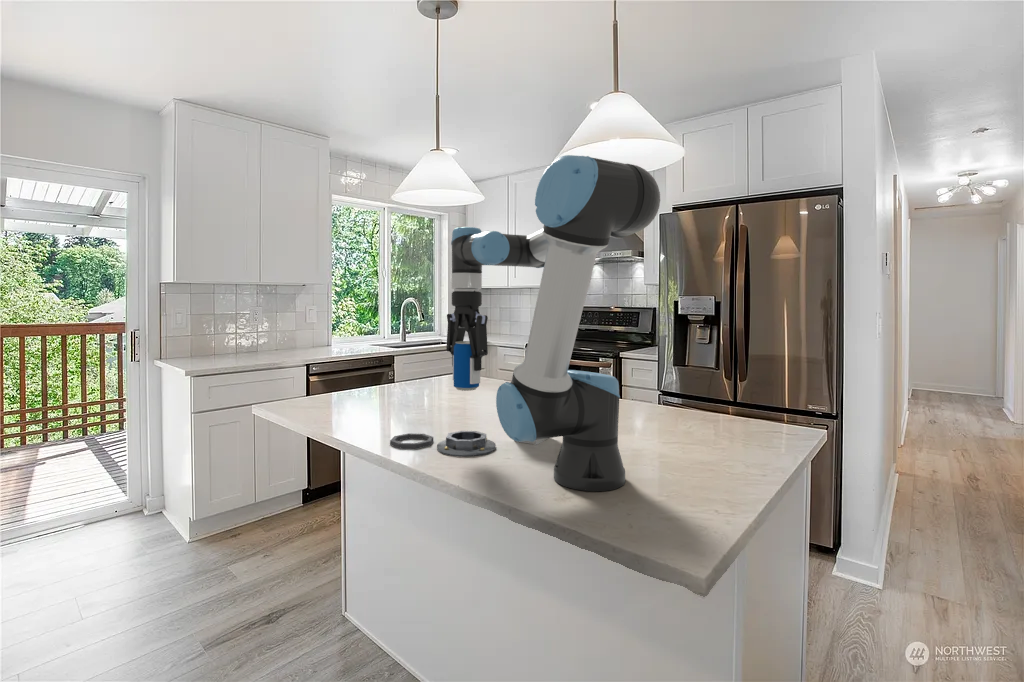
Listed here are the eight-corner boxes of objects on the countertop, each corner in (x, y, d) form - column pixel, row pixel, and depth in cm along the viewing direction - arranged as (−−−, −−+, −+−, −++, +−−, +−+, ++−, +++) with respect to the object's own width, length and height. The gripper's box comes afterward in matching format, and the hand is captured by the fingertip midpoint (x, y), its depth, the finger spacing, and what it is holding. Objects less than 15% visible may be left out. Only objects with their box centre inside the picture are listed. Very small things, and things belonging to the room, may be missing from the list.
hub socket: (507, 448, 137) (507, 436, 137) (461, 460, 127) (461, 447, 126) (471, 437, 148) (471, 425, 147) (425, 447, 138) (425, 434, 137)
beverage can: (475, 391, 132) (475, 343, 131) (450, 390, 134) (450, 342, 133) (481, 387, 139) (482, 341, 138) (457, 386, 140) (458, 340, 139)
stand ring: (440, 443, 141) (440, 439, 141) (405, 451, 134) (405, 446, 134) (418, 435, 149) (418, 431, 149) (384, 442, 141) (384, 438, 141)
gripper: (503, 290, 129) (502, 385, 131) (455, 290, 143) (455, 375, 145) (479, 290, 124) (479, 388, 126) (432, 290, 138) (432, 378, 140)
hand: (466, 381), depth 136 cm, fingers closed on beverage can, 6 cm apart
